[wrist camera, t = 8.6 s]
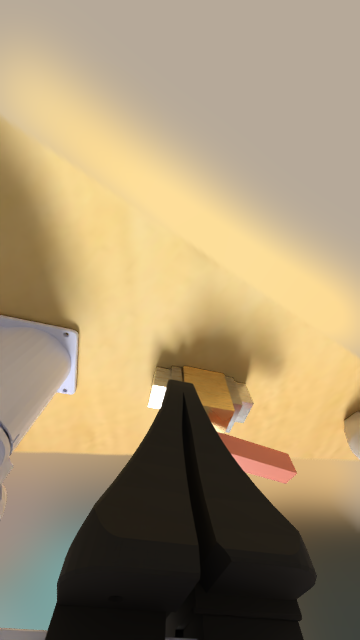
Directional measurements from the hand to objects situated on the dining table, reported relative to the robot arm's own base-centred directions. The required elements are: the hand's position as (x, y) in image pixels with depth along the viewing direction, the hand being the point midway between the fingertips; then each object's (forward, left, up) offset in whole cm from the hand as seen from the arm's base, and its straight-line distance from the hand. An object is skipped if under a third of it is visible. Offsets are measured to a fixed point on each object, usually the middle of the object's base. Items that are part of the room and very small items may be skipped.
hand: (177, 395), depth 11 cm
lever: (+7, -8, -3) cm, 11 cm away
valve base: (+4, -7, -9) cm, 12 cm away
